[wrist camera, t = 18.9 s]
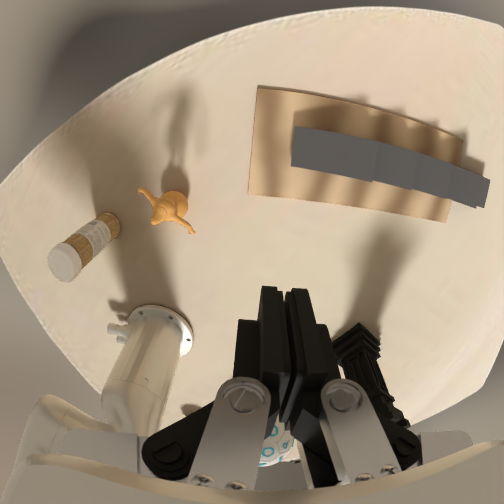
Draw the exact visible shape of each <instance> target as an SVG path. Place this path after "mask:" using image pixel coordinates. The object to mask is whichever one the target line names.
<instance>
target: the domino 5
mask: <svg viewBox="0 0 504 504" xmlns="http://www.w3.org/2000/svg"><path fill="white" fill-rule="evenodd" d="M489 184H490V180H489V179H487V178H484V177H483V178H482V184H481V188H480V193H479V197H478V202H477V206H479V207H482V208H484V206H485V202H486V198H487V193H488V189H489Z"/></svg>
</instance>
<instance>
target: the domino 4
mask: <svg viewBox="0 0 504 504" xmlns="http://www.w3.org/2000/svg"><path fill="white" fill-rule="evenodd" d="M482 178H483V176H481V175H479V174H476V173H474V172H471V171H469V170H466V169H463V168H461V167H458V166H455V165H453V166H452V172H451V177H450V182H449V187H448V191H447V196H446V198H447V199H450V200H453V201H456V202H459V203H462V204H465V205H468V206H470V207H473V208H476V206H477V202H478V197H479V193H480V188H481V184H482Z"/></svg>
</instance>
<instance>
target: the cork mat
mask: <svg viewBox="0 0 504 504" xmlns="http://www.w3.org/2000/svg"><path fill="white" fill-rule="evenodd" d="M295 126H297V127H304V128H311V129H318V130H324V131H330V132H336V133H341V134H346V135H351V136H356V137H361V138H365V139H370V140H374V141H378V142H382V143H386V144H390V145H394V146H397V147H401V148H405V149H408V150H412V151H415V152H418V153H421V154H424V155H427V156H430V157H433V158H436V159H439V160H442V161H445V162H448V163H451V164H453V165H455V166H458V167H459V163H460V157H461V150H462V143H463V140H461V139H458V138H456V137H454V136H451V135H449V134H447V133H444V132H442V131H440V130H437V129H434V128H432V127H429V126H427V125H424V124H421V123H419V122H416V121H413V120H410V119H407V118H404V117H401V116H398V115H395V114H391V113H388V112H385V111H381V110H378V109H374V108H370V107H367V106H363V105H359V104H354V103H350V102H346V101H341V100H337V99H332V98H327V97H321V96H316V95H310V94H303V93H297V92H289V91H281V90H272V89H262V88H258V89H257V99H256V110H255V121H254V132H253V143H252V154H251V166H250V177H249V189H248V194H250V195H261V196H271V197H281V198H290V199H299V200H308V201H316V202H324V203H331V204H339V205H346V206H353V207H359V208H366V209H372V210H378V211H384V212H390V213H396V214H402V215H407V216H413V217H418V218H423V219H428V220H433V221H438V222H443V223H446V221H447V217H448V214H449V210H450V206H451V202H452V200H450V199H447V198H446V199H444V198H441V197H437V196H434V195H431V194H428V193H424V192H421V191H417V190H414V189H412V190H408V189H404V188H400V187H397V186H393V185H389V184H385V183H381V182H377V181H372V182H368V181H363V180H359V179H355V178H350V177H345V176H341V175H336V174H331V173H326V172H320V171H315V170H309V169H304V168H298V167H292V166H291V159H292V150H293V141H294V132H295Z"/></svg>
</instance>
